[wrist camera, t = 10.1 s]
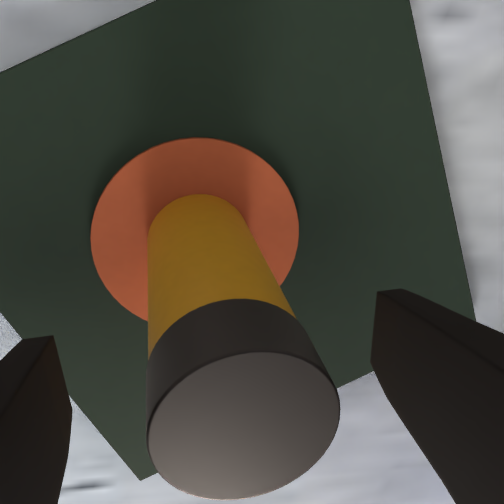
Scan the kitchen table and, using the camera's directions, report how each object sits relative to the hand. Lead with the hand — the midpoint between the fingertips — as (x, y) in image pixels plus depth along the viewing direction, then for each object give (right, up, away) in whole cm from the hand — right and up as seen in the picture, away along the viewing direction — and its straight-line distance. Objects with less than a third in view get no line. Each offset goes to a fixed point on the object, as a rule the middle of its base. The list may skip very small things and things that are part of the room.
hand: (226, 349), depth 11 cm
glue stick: (-1, +3, +5) cm, 6 cm away
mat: (0, +2, +6) cm, 7 cm away
